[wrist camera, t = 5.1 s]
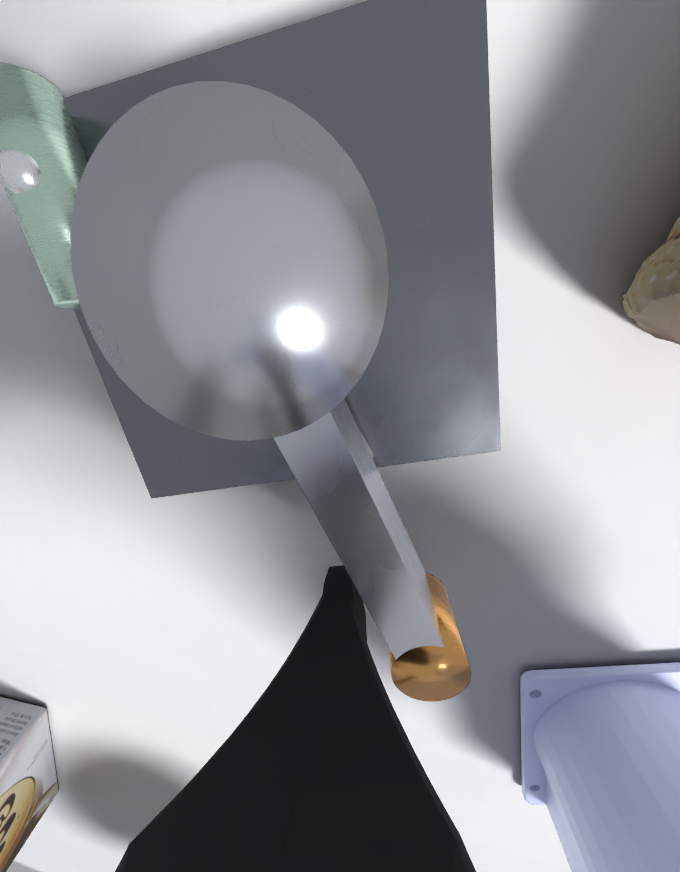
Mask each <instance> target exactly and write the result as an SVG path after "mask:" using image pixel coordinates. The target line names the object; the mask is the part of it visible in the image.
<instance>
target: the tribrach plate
mask: <svg viewBox="0 0 680 872" xmlns="http://www.w3.org/2000/svg"><path fill="white" fill-rule="evenodd" d="M197 81H226V82H233V83H239V84H246V85H249V86H252V87H255V88H258V89H262V90H265V91H268V92H271V93H273V94H274V95H276V96H278V97H280V98H282V99H284V100H286V101H288V102H290V103H292V104H294V105H295V106H297V107H298V108H300V109H301V110H302V111H304V112H305V113H307V114H308V115H309V116H311V117H312V118H314V119H315V120H316V121H317V122H318V123H319V124H320V125H321V126H322V127H323V128H324V129H325V130H326V131H327V132H328V133H330V134H331V135H332V136H333V137H334V138H335V140H336V141H337V142H338V143H339V145H340V146H341V147H342V148H343V150H344V151H345V152H346V153H347V155H348V156H349V157H350V158H351V160H352V162H353V163H354V165H355V167H356V168H357V170H358V171H359V173H360V175H361V176H362V178H363V180H364V181H365V184H366V186H367V188H368V190H369V193H370V195H371V197H372V199H373V201H374V204H375V206H376V209H377V213H378V216H379V219H380V222H381V226H382V229H383V233H384V239H385V244H386V250H387V256H388V273H389V286H388V302H387V308H386V314H385V319H384V325H383V328H382V331H381V335H380V338H379V341H378V344H377V347H376V349H375V351H374V354H373V356H372V358H371V360H370V362H369V364H368V366H367V368H366V370H365V371H364V373H363V374H362V376H361V378H360V379H359V381H358V382H357V384H356V385H355V386H354V387H353V389H352V390H351V391H350V392H349V393H348V395H347V396H346V397H345V398H344V399H345V401H346V403H347V405H348V407H349V409H350V411H351V414H352V416H353V418H354V420H355V422H356V424H357V426H358V429H359V431H360V433H361V435H362V437H363V439H364V441H365V443H366V446H367V448H368V450H369V452H370V454H371V456H372V458H373V461H374V463H375V465H376V467H384V466H391V465H398V464H406V463H413V462H420V461H427V460H435V459H442V458H449V457H457V456H464V455H471V454H479V453H486V452H493V451H500V450H501V448H500V417H499V386H498V354H497V323H496V292H495V260H494V229H493V198H492V166H491V135H490V104H489V72H488V41H487V9H486V0H369V1H366V2H363V3H360V4H357V5H353V6H350V7H347V8H344V9H341V10H338V11H335V12H332V13H329V14H325V15H322V16H319V17H316V18H313V19H310V20H307V21H304V22H301V23H297V24H294V25H291V26H288V27H285V28H282V29H279V30H276V31H272V32H269V33H266V34H263V35H260V36H257V37H254V38H251V39H248V40H244V41H241V42H238V43H235V44H232V45H229V46H226V47H223V48H220V49H216V50H213V51H210V52H207V53H204V54H201V55H198V56H195V57H191V58H188V59H185V60H182V61H179V62H176V63H173V64H170V65H167V66H163V67H160V68H157V69H154V70H151V71H148V72H145V73H142V74H139V75H135V76H132V77H129V78H126V79H123V80H120V81H117V82H114V83H110V84H107V85H104V86H101V87H98V88H95V89H92V90H89V91H86V92H82V93H79V94H76V95H73V96H70V97H67V98H64V97H63V95H62V93H61V92H60V91H59V90H58V89H57V88H56V87H55V86H54V85H53V84H52V83H51V82H49V81H48V80H46V79H45V78H43V77H41V76H40V75H38V74H36V73H34V72H31V71H29V70H27V69H24V68H21V67H18V66H15V65H11V64H6V63H0V179H1V181H2V183H3V185H4V188H5V190H6V192H7V195H8V197H9V199H10V202H11V204H12V206H13V209H14V211H15V213H16V216H17V218H18V221H19V223H20V225H21V228H22V230H23V232H24V235H25V237H26V239H27V242H28V244H29V246H30V249H31V251H32V253H33V256H34V258H35V260H36V263H37V265H38V268H39V270H40V272H41V275H42V277H43V279H44V282H45V284H46V286H47V289H48V291H49V293H50V296H51V298H52V300H53V303H54V305H55V306H56V307H60V308H74V310H75V313H76V315H77V318H78V320H79V323H80V325H81V328H82V330H83V332H84V335H85V337H86V340H87V342H88V345H89V347H90V350H91V352H92V354H93V357H94V359H95V362H96V364H97V367H98V369H99V372H100V374H101V376H102V379H103V381H104V384H105V386H106V389H107V391H108V394H109V396H110V398H111V401H112V403H113V406H114V408H115V411H116V413H117V416H118V418H119V420H120V423H121V425H122V428H123V430H124V433H125V435H126V438H127V440H128V442H129V445H130V447H131V450H132V452H133V455H134V457H135V459H136V462H137V464H138V467H139V469H140V472H141V474H142V477H143V479H144V481H145V484H146V486H147V489H148V491H149V494H150V496H151V498H157V497H165V496H172V495H179V494H187V493H194V492H201V491H208V490H216V489H223V488H230V487H238V486H245V485H252V484H260V483H267V482H274V481H281V480H289V479H296V478H295V476H294V474H293V472H292V470H291V469H290V467H289V465H288V463H287V461H286V460H285V458H284V456H283V454H282V452H281V451H280V449H279V447H278V445H277V443H276V442H275V440H274V438H270V439H263V440H251V441H244V440H228V439H223V438H217V437H212V436H208V435H205V434H202V433H198V432H195V431H193V430H191V429H188V428H186V427H183V426H181V425H179V424H177V423H175V422H173V421H172V420H170V419H168V418H166V417H165V416H163V415H161V414H160V413H159V412H157V411H156V410H154V409H153V408H152V407H150V406H149V405H147V404H146V403H145V402H144V401H143V400H142V399H141V398H139V397H138V396H137V395H136V394H135V393H134V392H133V391H132V390H131V389H130V388H129V387H128V386H127V385H126V384H125V383H124V382H123V380H122V379H121V378H120V377H119V376H118V375H117V374H116V372H115V371H114V369H113V368H112V367H111V365H110V364H109V363H108V361H107V360H106V359H105V357H104V355H103V354H102V352H101V350H100V349H99V347H98V345H97V343H96V342H95V340H94V338H93V336H92V334H91V331H90V329H89V327H88V325H87V323H86V320H85V318H84V315H83V312H82V309H81V306H80V303H79V300H78V296H77V292H76V288H75V283H74V279H73V272H72V263H71V254H70V229H71V221H72V213H73V206H74V202H75V198H76V194H77V190H78V186H79V183H80V180H81V178H82V175H83V173H84V170H85V168H86V165H87V163H88V161H89V159H90V157H91V155H92V154H93V152H94V150H95V149H96V147H97V145H98V143H99V142H100V140H101V139H102V138H103V137H104V135H105V134H106V133H107V132H108V130H109V129H110V128H111V127H112V126H113V124H114V123H115V122H116V121H117V120H119V119H120V118H121V117H122V116H123V115H124V114H125V113H126V112H127V111H129V110H130V109H131V108H132V107H134V106H135V105H137V104H138V103H140V102H142V101H143V100H145V99H146V98H148V97H150V96H151V95H153V94H156V93H158V92H161V91H163V90H166V89H168V88H171V87H173V86H178V85H183V84H187V83H192V82H197Z"/></svg>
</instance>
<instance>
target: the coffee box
mask: <svg viewBox="0 0 680 872" xmlns="http://www.w3.org/2000/svg"><path fill="white" fill-rule="evenodd" d="M58 791H59V789H58V783H57V776H56V769H55V762H54V755H53V748H52V742H51V735H50V729H49V722H48V715H47V709H45V708H44V707H40V706H36V705H32V704H28V703H23V702H20V701H16V700H12V699H8V698H4V697H0V872H6V871H7V869H8V868H9V866H10V865H11V863H12V862H13V860H14V858H15V857H16V855H17V854H18V852H19V851H20V849H21V848H22V846H23V845H24V843H25V842H26V840H27V839H28V837H29V836H30V834H31V832H32V831H33V829H34V828H35V826H36V825H37V823H38V822H39V820H40V819H41V817H42V816H43V814H44V813H45V811H46V810H47V808H48V807H49V805H50V804H51V802H52V801H53V799H54V797H55V796H56V794H57V793H58Z"/></svg>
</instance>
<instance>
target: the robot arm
mask: <svg viewBox="0 0 680 872" xmlns="http://www.w3.org/2000/svg"><path fill="white" fill-rule="evenodd" d="M520 695H521V760H522V792H523V795H524V798H525V801H527V802H528V803H530V804H534V805H547V807H548V810H549V813H550V815H551V818H552V820H553V823H554V826H555V828H556V831H557V834H558V836H559V839H560V842H561V844H562V847H563V849H564V852H565V855H566V857H567V860H568V863H569V865H570V868H571V871H572V872H680V662H675V663H657V664H638V665H620V666H601V667H583V668H564V669H546V670H530V671H526V672H524V673H523V674H522V675H521V678H520ZM115 872H476V871H475V868H474V866H473V864H472V862H471V859H470V857H469V855H468V853H467V850H466V848H465V845H464V843H463V841H462V838H461V836H460V834H459V832H458V830H457V829H456V827H455V825H454V823H453V822H452V820H451V818H450V816H449V815H448V813H447V811H446V809H445V808H444V806H443V804H442V802H441V800H440V799H439V797H438V795H437V793H436V791H435V789H434V788H433V786H432V784H431V782H430V780H429V778H428V777H427V775H426V773H425V771H424V769H423V767H422V765H421V763H420V761H419V759H418V757H417V756H416V754H415V752H414V750H413V748H412V746H411V744H410V742H409V739H408V737H407V735H406V733H405V731H404V729H403V727H402V725H401V723H400V721H399V719H398V717H397V715H396V713H395V711H394V709H393V706H392V704H391V702H390V700H389V697H388V695H387V693H386V690H385V688H384V686H383V684H382V681H381V679H380V676H379V674H378V671H377V669H376V666H375V664H374V661H373V659H372V656H371V653H370V651H369V648H368V645H367V634H366V614H365V609H364V604H363V600H362V597H361V596H360V594H359V592H358V590H357V588H356V586H355V585H354V583H353V581H352V579H351V577H350V576H349V574H348V572H347V570H346V568H345V567H344V565H343V566H333V567H329V569H328V572H327V575H326V578H325V582H324V587H323V595H322V597H321V599H320V601H319V603H318V605H317V607H316V609H315V611H314V613H313V614H312V616H311V618H310V620H309V622H308V624H307V626H306V628H305V629H304V631H303V633H302V634H301V636H300V638H299V640H298V641H297V643H296V645H295V646H294V648H293V650H292V651H291V653H290V655H289V656H288V658H287V659H286V661H285V662H284V664H283V666H282V667H281V669H280V670H279V672H278V673H277V675H276V676H275V677H274V679H273V680H272V682H271V683H270V685H269V686H268V687H267V689H266V690H265V692H264V693H263V694H262V696H261V697H260V698H259V700H258V701H257V702H256V704H255V705H254V706H253V708H252V709H251V710H250V712H249V713H248V714H247V716H246V717H245V718H244V719H243V721H242V722H241V723H240V724H239V726H238V727H237V728H236V729H235V731H234V732H233V733H232V734H231V735H230V737H229V738H228V739H227V740H226V741H225V742H224V743H223V745H222V746H221V747H220V748H219V749H218V750H217V751H216V753H215V754H214V755H213V756H212V757H211V758H210V760H209V761H208V762H207V763H206V764H205V765H204V766H203V768H202V769H201V770H200V771H199V772H198V773H197V774H196V776H195V777H194V778H193V779H192V780H191V781H190V782H189V783H188V784H187V785H186V786H185V787H184V789H183V790H182V791H181V792H180V793H179V794H178V795H177V796H176V797H175V798H174V799H173V800H172V801H171V802H170V803H169V804H168V805H167V806H166V807H165V808H164V809H163V810H162V811H161V812H160V813H159V814H158V815H157V816H156V817H155V818H154V819H153V820H152V821H151V822H150V823H149V825H148V826H147V827H146V828H145V829H144V830H143V831H142V832H141V833H140V834H139V835H138V836H137V837H136V838H135V839H134V840H133V841H132V842H131V843H130V844H129V846H128V848H127V850H126V852H125V854H124V856H123V858H122V860H121V862H120V863H119V865H118V867H117V869H116V871H115Z"/></svg>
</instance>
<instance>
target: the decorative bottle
mask: <svg viewBox="0 0 680 872" xmlns="http://www.w3.org/2000/svg"><path fill="white" fill-rule="evenodd" d="M623 298H624V300H623V301H622V303H623V306H624V309H625V312H626V315H627V317H628V318H631V319H634V320H635V321H636V323H637V325H638V326H639V327H640V328H642V329H643V330H645V331H646V332H648V333H649V334H651V335H652V336H654V337H655V338H659V339H663V340H668V341H672V342H674V343H677V344H680V216H679V218H678V219H677V220H676V222H675V224H674V226H673V228H672V230H671V232H670V234H669V236H668V238H667V240H666V242H665V243H663V244H662V245H661V246H660V247H659V248H658V249H657V250H656V251H655V252H653V253H652V254H651V255H650V256H649V257H648V258H647V259H646V260H645V261H643V263H642V265H641V268H640V269H638V271H637V274H636V276H635V278H634V280H633V282H632V285H631V286H630V288H629V289H628V291H627V293H626V294H624V295H623Z"/></svg>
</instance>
